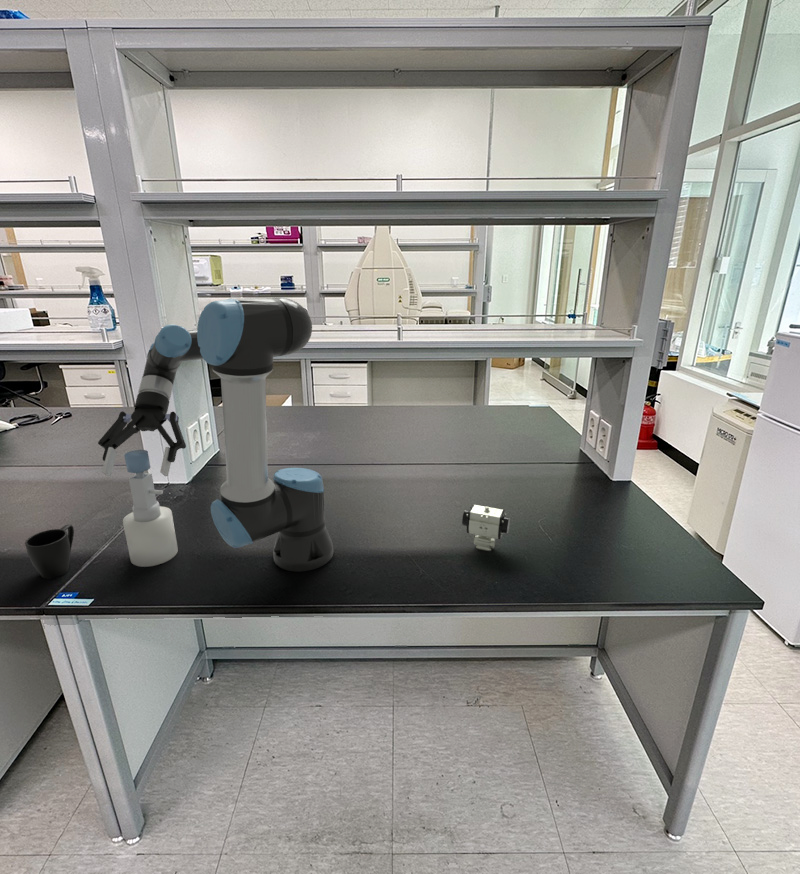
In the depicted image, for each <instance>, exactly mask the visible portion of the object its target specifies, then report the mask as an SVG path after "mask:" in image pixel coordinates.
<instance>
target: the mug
mask: <svg viewBox="0 0 800 874" xmlns="http://www.w3.org/2000/svg"><path fill="white" fill-rule="evenodd" d="M74 536H75V529H74V526H73V525H72V524H66V525H64V526H62V527H61V528H54V529H47V530H44V531H40V532H38V533H35V534H33V535H31V536H29V537H28V538H27V539H26V540H25V542H24V543H25V544H24V546H25V549H26V552H27V556H28V558H29V560H30V562H31V564H32V566H33V568H35V570H36V571H37V573H38V574H39V575H40V576H41V578H43V579H47V580H48V579H55V578H58V577H60V576H62V575H65V574H66V573H67V572H68V571H69V569H70V559H71V550H72V545H73V542H74Z"/></svg>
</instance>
